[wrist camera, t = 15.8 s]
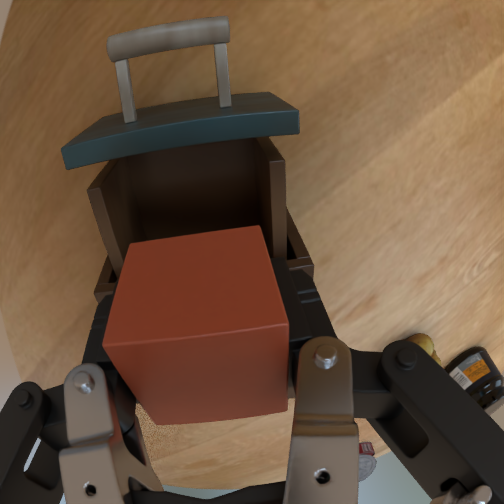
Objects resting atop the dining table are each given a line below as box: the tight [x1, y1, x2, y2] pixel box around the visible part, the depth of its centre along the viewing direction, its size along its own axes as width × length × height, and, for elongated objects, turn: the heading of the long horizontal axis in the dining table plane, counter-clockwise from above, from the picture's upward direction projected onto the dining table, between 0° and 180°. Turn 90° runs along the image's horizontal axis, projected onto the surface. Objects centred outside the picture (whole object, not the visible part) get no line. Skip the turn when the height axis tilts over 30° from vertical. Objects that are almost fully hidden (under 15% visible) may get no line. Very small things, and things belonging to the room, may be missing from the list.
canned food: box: [359, 442, 377, 482], centre depth 64 cm, size 11×10×10 cm
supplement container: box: [445, 347, 504, 416], centre depth 44 cm, size 10×10×12 cm
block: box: [102, 225, 289, 425], centre depth 9 cm, size 4×4×4 cm
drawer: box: [61, 16, 300, 279], centre depth 19 cm, size 18×11×7 cm, turn 4°
